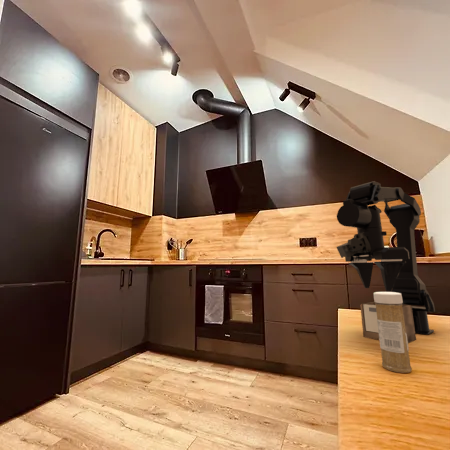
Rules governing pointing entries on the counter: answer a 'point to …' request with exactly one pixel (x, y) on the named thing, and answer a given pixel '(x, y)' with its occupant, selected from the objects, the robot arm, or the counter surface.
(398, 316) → the sprinkles bottle
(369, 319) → the cabinet door
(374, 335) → the open wooden box
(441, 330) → the counter surface
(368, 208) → the robot arm
